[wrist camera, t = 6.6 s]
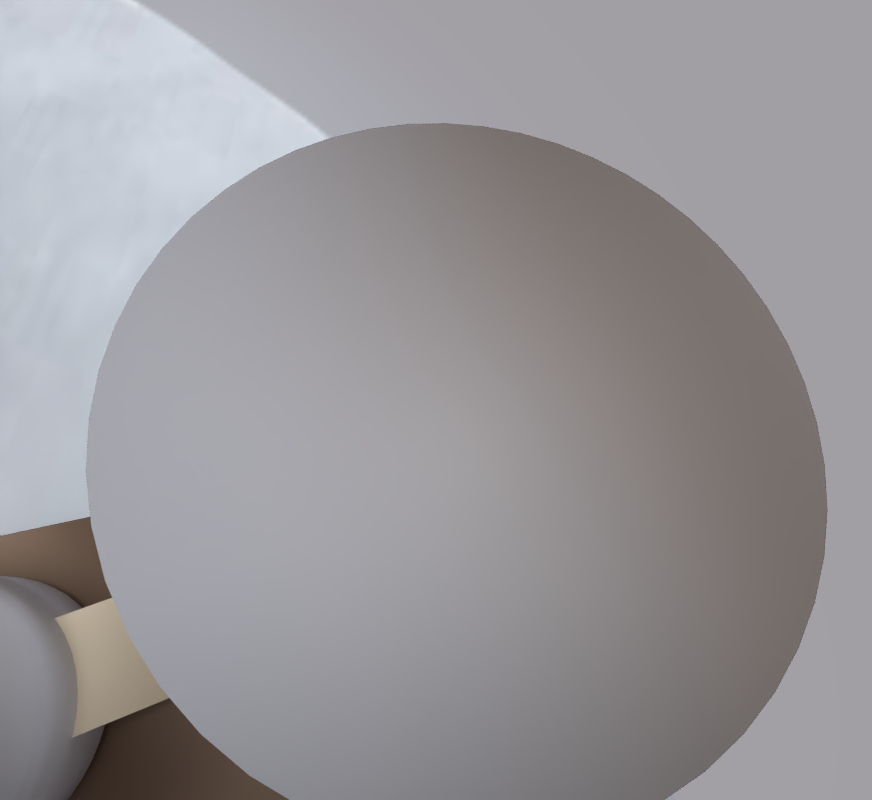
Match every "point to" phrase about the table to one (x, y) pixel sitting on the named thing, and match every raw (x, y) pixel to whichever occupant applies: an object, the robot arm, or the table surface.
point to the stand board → (142, 730)
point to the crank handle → (433, 488)
